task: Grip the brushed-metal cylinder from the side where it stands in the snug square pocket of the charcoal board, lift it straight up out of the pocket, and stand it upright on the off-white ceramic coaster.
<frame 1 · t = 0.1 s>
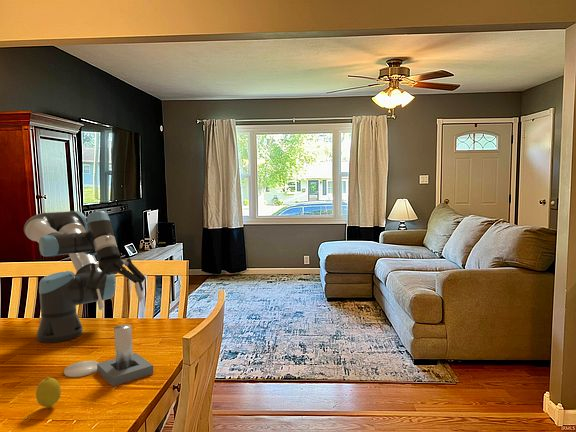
hand: (122, 304, 150), 15 cm above the table, tool tilted 35°, fingers open, 13 cm apart
metal part: (124, 349, 131), in the pocket board
coaster: (82, 369, 134), on the table
pocket board: (125, 372, 132), on the table
lemon: (49, 408, 112), on the table
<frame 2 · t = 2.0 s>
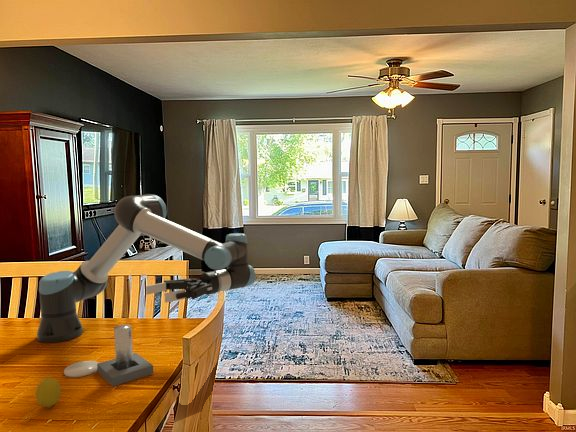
hand: (155, 293, 137), 22 cm above the table, tool horizontal, fingers open, 13 cm apart
nothing on the table moved.
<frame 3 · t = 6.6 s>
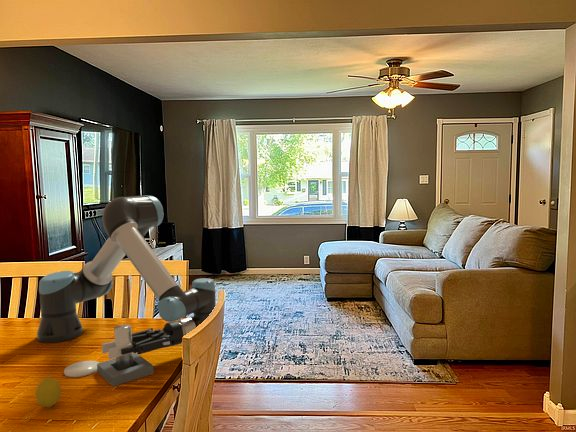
hand: (105, 351, 128), 8 cm above the table, tool horizontal, fingers closed on metal part, 5 cm apart
metal part: (124, 349, 131), in the pocket board, touching gripper
everything else where it was.
when the fingers open (10 cm above the table, at t = 13.2 s): metal part drops 1 cm, resting on coaster.
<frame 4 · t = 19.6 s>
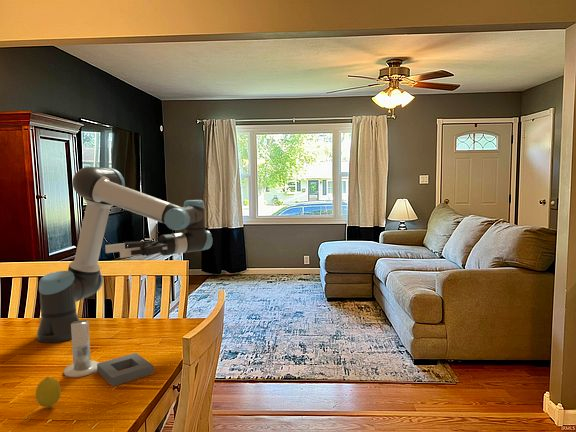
hand: (112, 251, 146), 34 cm above the table, tool horizontal, fingers open, 13 cm apart
metal part: (81, 345, 133), on the coaster, point 8 cm above the table
everything else where it was.
at the end: metal part 0.1 cm off-centre on the coaster, point 7.8 cm above the coaster's base; metal part tilted 0°; the gripper is holding nothing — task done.
